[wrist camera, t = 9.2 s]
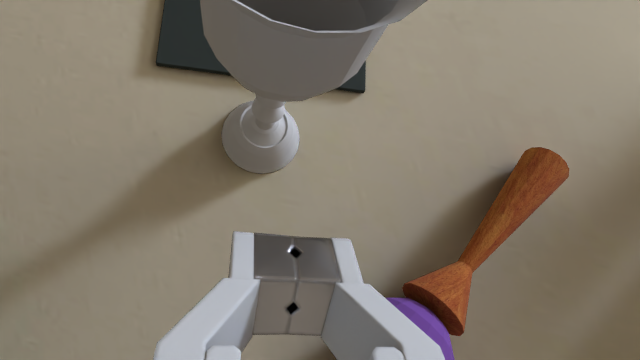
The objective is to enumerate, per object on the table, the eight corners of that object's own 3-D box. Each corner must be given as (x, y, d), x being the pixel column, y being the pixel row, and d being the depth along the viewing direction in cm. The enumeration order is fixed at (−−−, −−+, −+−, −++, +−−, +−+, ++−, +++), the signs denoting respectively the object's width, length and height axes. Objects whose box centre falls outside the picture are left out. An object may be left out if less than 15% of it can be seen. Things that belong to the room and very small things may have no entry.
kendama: (608, 194, 28) (430, 460, 20) (531, 201, 33) (369, 413, 26) (560, 122, 27) (355, 373, 19) (489, 141, 32) (308, 343, 25)
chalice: (200, 184, 26) (152, 12, 9) (207, 83, 28) (177, -226, 11) (315, 189, 28) (458, 50, 11) (316, 93, 29) (442, -163, 12)
